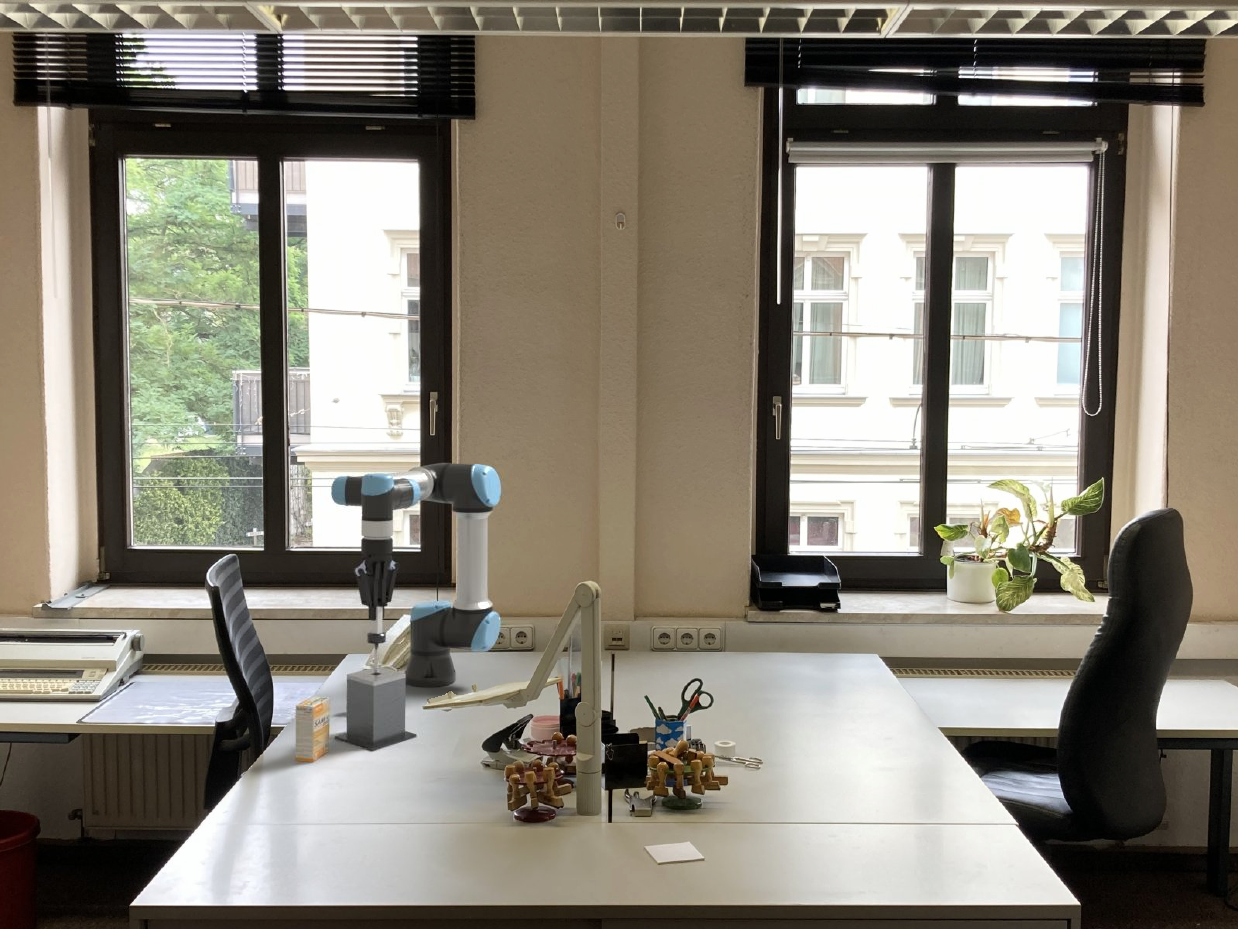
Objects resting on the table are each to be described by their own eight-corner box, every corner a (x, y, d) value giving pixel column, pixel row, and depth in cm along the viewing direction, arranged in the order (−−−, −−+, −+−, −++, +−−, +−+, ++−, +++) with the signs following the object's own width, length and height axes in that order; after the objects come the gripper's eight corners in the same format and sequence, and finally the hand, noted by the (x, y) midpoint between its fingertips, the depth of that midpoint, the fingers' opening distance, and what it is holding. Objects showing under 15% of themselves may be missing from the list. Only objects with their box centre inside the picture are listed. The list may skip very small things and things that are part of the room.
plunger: (377, 686, 269) (378, 628, 268) (397, 691, 265) (397, 633, 264) (354, 692, 263) (355, 633, 262) (374, 698, 259) (374, 638, 258)
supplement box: (313, 763, 247) (314, 707, 246) (294, 761, 248) (294, 705, 247) (330, 751, 255) (330, 697, 254) (311, 749, 256) (311, 695, 255)
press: (376, 724, 275) (377, 663, 274) (416, 736, 266) (417, 673, 265) (332, 737, 264) (332, 674, 263) (372, 751, 255) (372, 685, 254)
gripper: (387, 533, 269) (386, 626, 270) (345, 538, 258) (345, 634, 260) (407, 536, 264) (406, 630, 266) (366, 541, 254) (365, 639, 256)
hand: (376, 632), depth 263 cm, fingers closed
